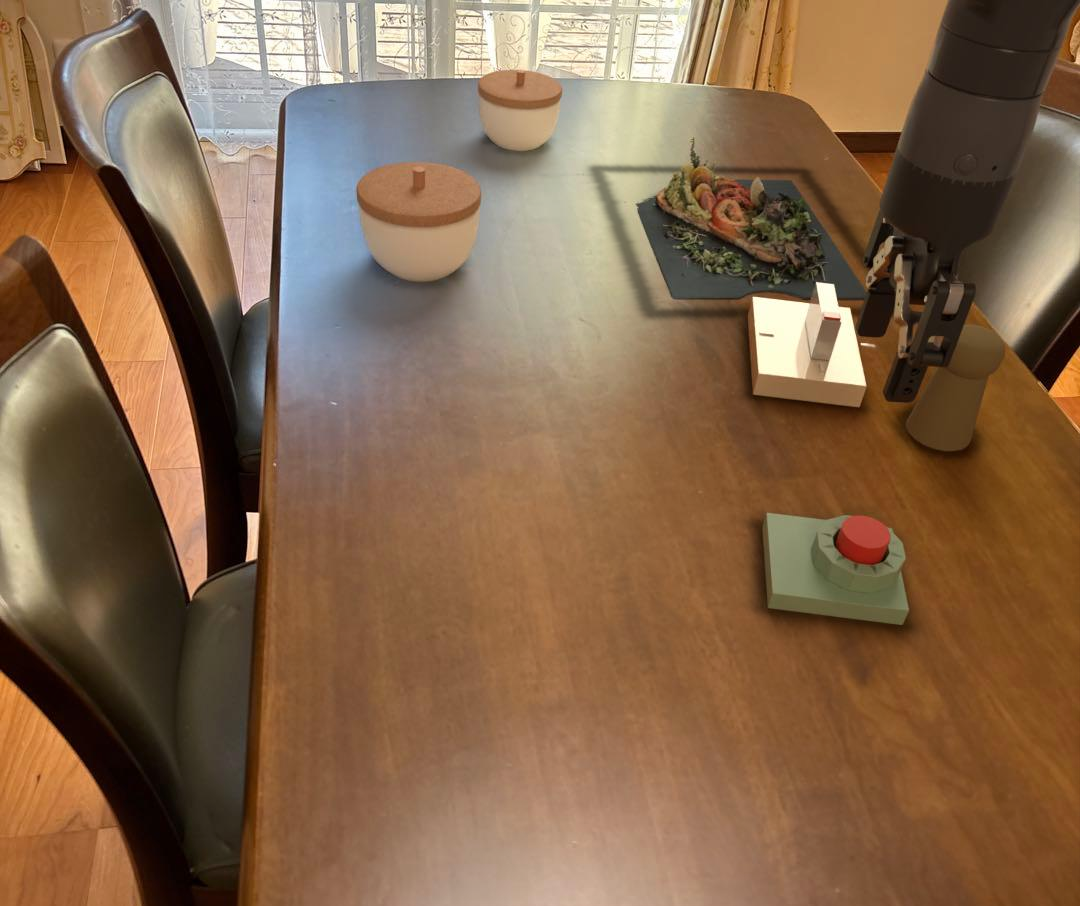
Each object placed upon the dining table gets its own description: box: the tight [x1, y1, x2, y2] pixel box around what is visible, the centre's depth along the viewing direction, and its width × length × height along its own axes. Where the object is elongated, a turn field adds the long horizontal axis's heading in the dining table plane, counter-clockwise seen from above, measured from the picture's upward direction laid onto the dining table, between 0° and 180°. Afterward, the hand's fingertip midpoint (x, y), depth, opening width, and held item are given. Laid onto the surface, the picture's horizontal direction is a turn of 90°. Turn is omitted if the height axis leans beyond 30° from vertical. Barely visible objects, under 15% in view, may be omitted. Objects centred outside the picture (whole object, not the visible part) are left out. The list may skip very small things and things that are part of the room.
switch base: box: [747, 296, 876, 408], centre depth 100 cm, size 12×14×3 cm
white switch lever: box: [805, 282, 842, 360], centre depth 98 cm, size 7×2×4 cm, turn 174°
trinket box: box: [477, 69, 563, 152], centre depth 132 cm, size 11×11×9 cm
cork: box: [905, 323, 1006, 452], centre depth 90 cm, size 6×6×11 cm
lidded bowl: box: [356, 161, 482, 283], centre depth 106 cm, size 13×13×11 cm
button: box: [836, 515, 891, 565], centre depth 76 cm, size 4×4×2 cm
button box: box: [761, 512, 910, 626], centre depth 78 cm, size 10×9×4 cm
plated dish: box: [635, 137, 867, 301], centre depth 117 cm, size 35×28×7 cm
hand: (882, 365), depth 76 cm, fingers open, 8 cm apart
